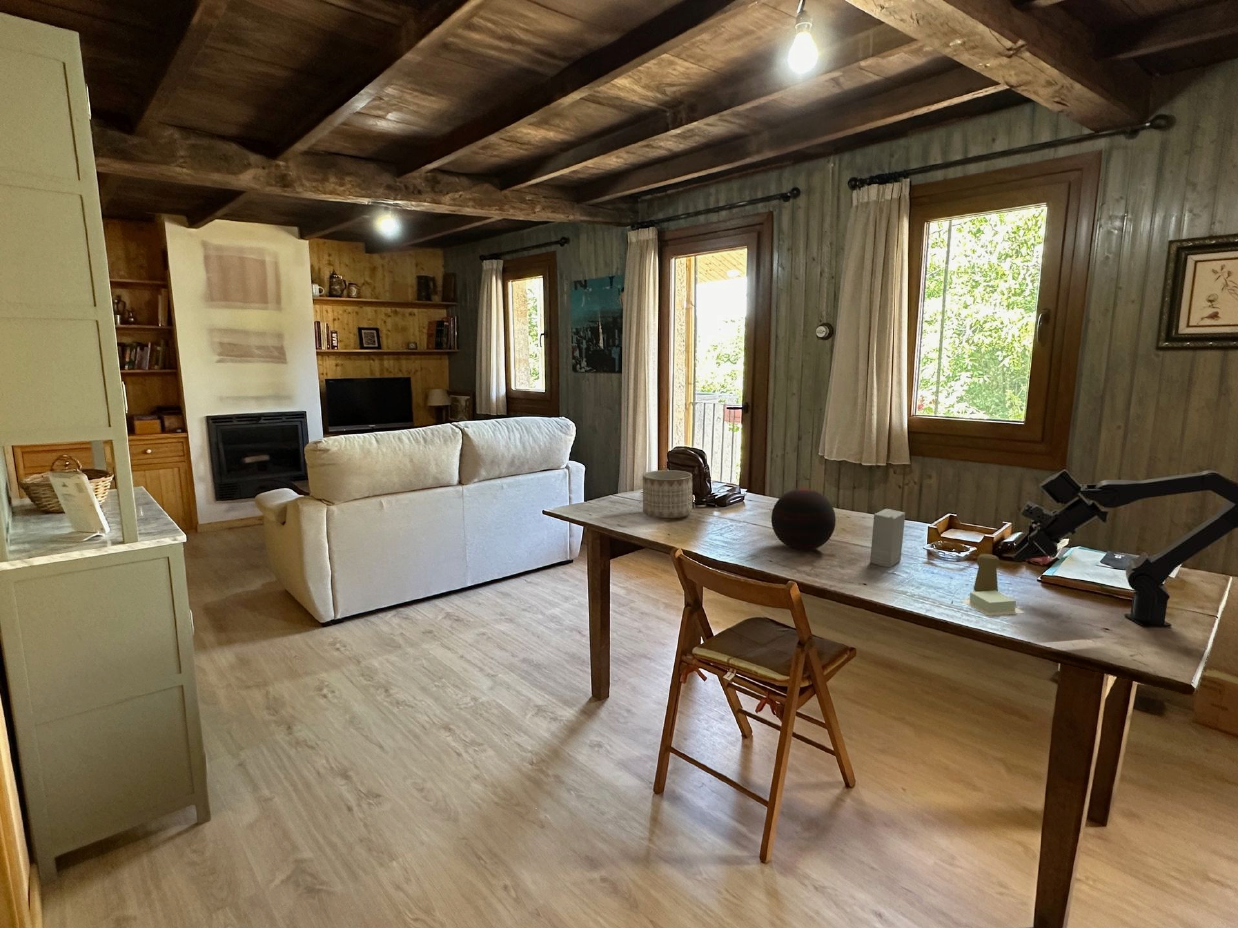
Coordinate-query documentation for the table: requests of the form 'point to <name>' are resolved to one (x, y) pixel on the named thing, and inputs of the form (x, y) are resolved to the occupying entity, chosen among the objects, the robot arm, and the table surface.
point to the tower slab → (991, 612)
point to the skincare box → (887, 537)
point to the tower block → (992, 601)
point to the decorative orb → (803, 519)
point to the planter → (667, 494)
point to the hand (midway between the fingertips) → (1013, 554)
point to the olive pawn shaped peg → (987, 573)
